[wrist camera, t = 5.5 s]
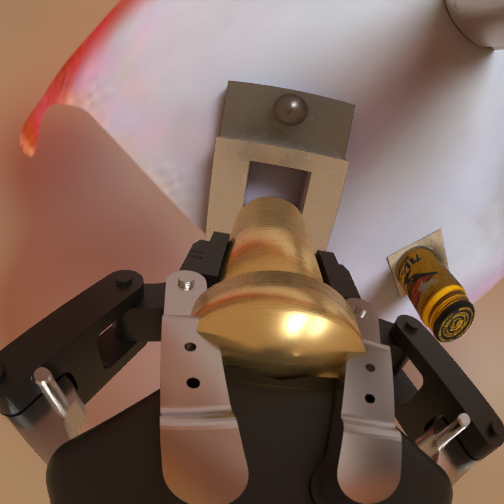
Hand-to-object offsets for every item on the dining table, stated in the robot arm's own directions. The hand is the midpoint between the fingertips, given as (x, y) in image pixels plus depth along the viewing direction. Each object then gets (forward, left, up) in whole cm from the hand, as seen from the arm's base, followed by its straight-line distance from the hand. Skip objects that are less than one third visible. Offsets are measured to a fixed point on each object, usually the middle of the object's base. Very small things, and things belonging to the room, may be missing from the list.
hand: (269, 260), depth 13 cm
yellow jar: (-22, +7, -18) cm, 29 cm away
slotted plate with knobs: (-1, +1, -18) cm, 18 cm away
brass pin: (0, 0, -3) cm, 3 cm away
